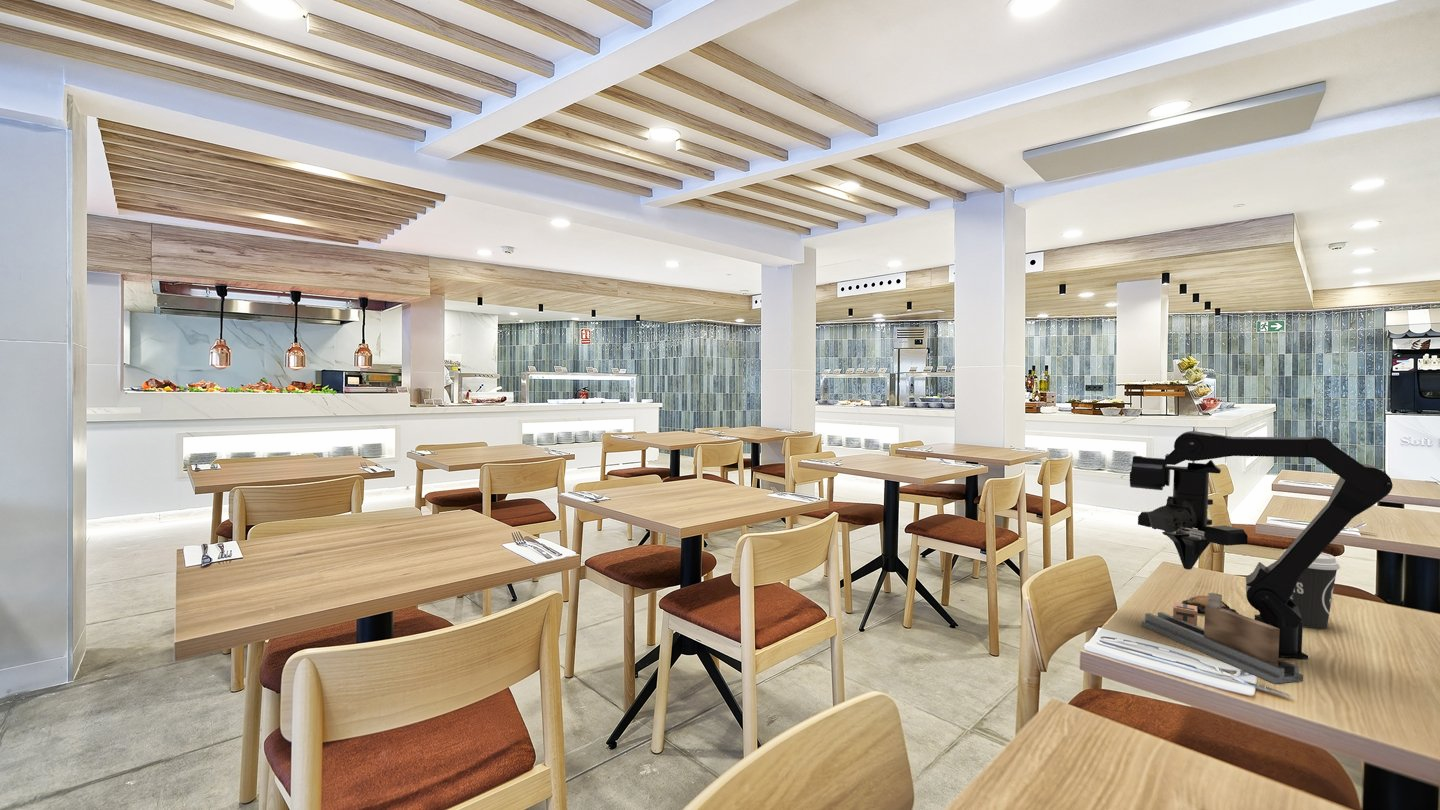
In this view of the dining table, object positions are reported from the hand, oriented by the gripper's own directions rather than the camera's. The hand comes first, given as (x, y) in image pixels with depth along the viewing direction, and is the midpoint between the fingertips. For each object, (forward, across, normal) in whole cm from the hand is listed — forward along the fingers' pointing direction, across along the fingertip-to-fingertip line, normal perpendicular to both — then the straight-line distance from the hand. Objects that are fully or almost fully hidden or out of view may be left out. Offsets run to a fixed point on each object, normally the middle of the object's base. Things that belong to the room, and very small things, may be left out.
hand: (1187, 569), depth 127 cm
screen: (+12, +13, -4) cm, 18 cm away
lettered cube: (+13, -3, +4) cm, 14 cm away
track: (+13, +8, -3) cm, 16 cm away
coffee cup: (+13, +2, +30) cm, 33 cm away
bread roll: (+14, -8, +17) cm, 24 cm away
